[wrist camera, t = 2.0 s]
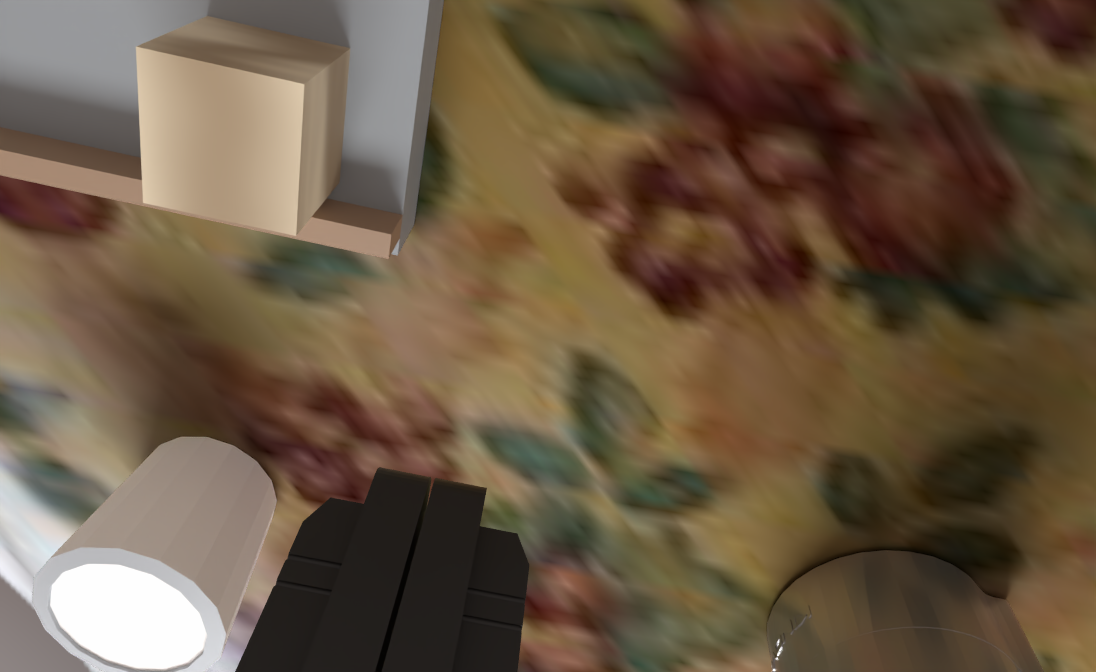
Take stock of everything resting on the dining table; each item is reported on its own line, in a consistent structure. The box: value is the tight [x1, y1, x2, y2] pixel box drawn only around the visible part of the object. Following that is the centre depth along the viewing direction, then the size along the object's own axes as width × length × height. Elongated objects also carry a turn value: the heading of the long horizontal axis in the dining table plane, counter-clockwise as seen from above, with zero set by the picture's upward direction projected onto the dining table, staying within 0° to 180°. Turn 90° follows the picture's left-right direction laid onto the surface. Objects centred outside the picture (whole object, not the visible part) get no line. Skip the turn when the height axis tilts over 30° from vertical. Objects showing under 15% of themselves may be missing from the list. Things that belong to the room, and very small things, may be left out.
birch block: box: [136, 16, 350, 236], centre depth 23 cm, size 4×4×4 cm
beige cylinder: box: [32, 437, 277, 672], centre depth 33 cm, size 7×7×7 cm
